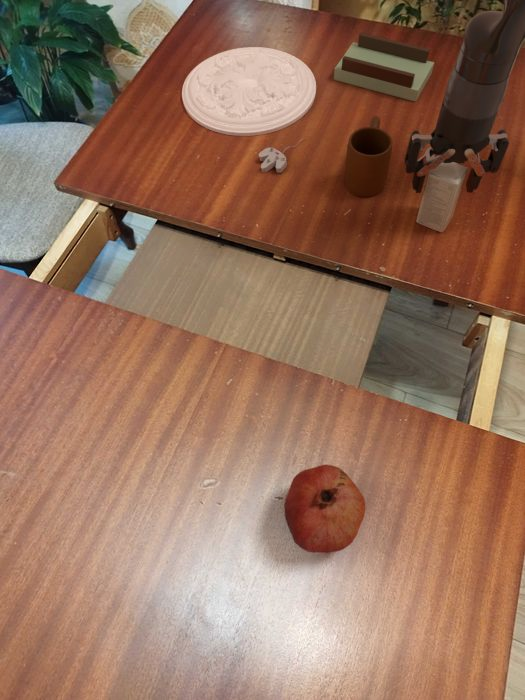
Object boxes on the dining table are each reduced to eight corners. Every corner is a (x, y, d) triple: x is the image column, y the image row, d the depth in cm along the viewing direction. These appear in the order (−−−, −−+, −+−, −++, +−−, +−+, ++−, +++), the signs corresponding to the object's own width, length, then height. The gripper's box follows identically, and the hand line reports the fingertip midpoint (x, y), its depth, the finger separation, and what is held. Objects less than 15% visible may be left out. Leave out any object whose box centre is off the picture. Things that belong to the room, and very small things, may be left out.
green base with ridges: (431, 73, 114) (437, 50, 109) (415, 101, 109) (420, 78, 105) (351, 53, 118) (354, 30, 114) (333, 79, 114) (335, 56, 110)
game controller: (252, 169, 102) (251, 158, 100) (279, 132, 107) (279, 120, 105) (279, 178, 101) (279, 167, 98) (305, 140, 105) (306, 128, 103)
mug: (350, 150, 103) (355, 106, 95) (390, 155, 102) (399, 112, 94) (339, 195, 98) (344, 153, 90) (382, 201, 97) (390, 159, 88)
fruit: (311, 462, 74) (313, 436, 65) (375, 504, 71) (387, 482, 62) (266, 528, 70) (262, 510, 61) (332, 576, 67) (338, 564, 58)
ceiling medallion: (327, 58, 118) (328, 43, 115) (299, 144, 105) (300, 130, 102) (205, 44, 122) (203, 30, 120) (164, 126, 109) (160, 112, 107)
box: (452, 217, 94) (471, 167, 84) (441, 234, 92) (459, 184, 83) (424, 206, 96) (439, 155, 86) (413, 221, 94) (427, 172, 84)
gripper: (521, 81, 75) (484, 172, 89) (416, 82, 76) (396, 173, 90) (532, 116, 71) (491, 206, 86) (421, 118, 72) (400, 206, 86)
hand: (442, 189), depth 88 cm, fingers open, 7 cm apart
